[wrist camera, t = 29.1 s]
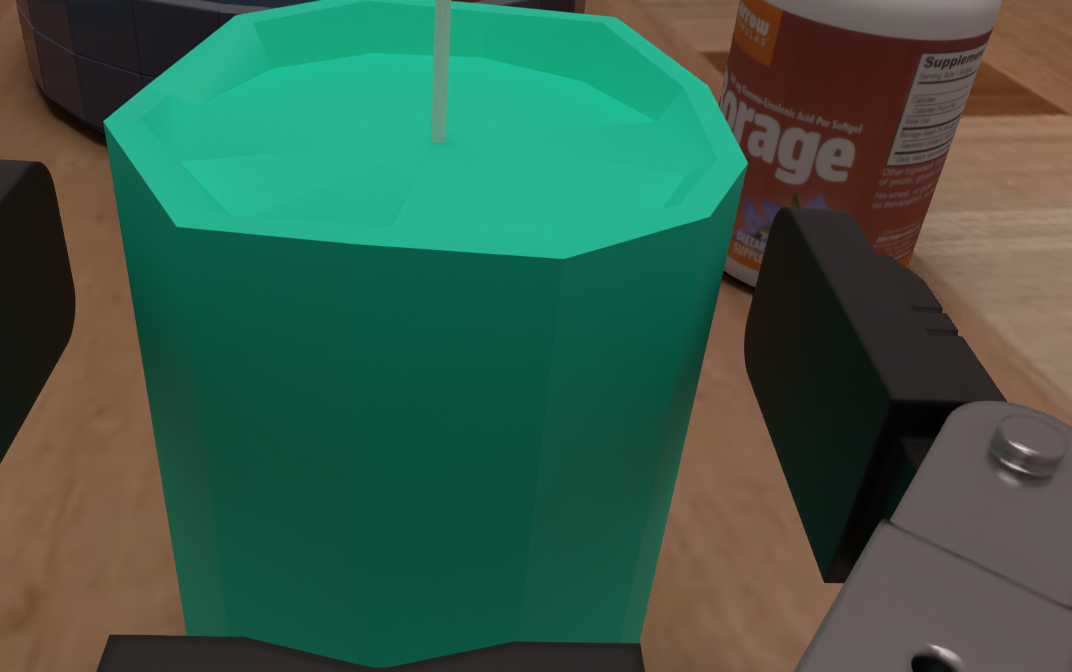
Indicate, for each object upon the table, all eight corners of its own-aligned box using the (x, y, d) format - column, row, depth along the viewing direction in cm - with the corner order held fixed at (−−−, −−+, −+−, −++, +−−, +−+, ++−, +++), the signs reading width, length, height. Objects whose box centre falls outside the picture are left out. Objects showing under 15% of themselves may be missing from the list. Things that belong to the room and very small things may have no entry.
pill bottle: (646, 231, 30) (718, -187, 24) (787, 188, 33) (883, -189, 27) (806, 337, 26) (943, -131, 20) (948, 277, 29) (1104, -140, 23)
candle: (408, 539, 19) (426, -162, 12) (681, 725, 16) (900, -45, 9) (126, 759, 15) (-82, -106, 8) (427, 1059, 12) (490, 125, 5)
